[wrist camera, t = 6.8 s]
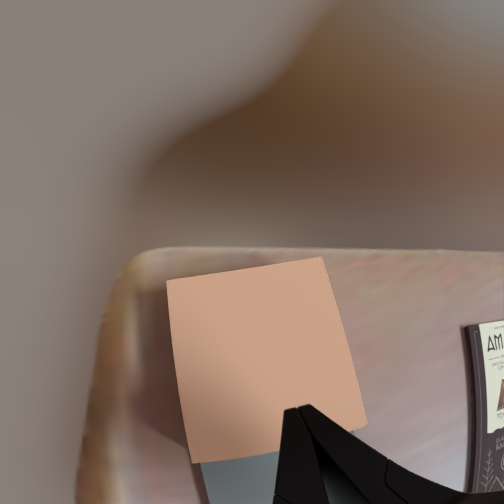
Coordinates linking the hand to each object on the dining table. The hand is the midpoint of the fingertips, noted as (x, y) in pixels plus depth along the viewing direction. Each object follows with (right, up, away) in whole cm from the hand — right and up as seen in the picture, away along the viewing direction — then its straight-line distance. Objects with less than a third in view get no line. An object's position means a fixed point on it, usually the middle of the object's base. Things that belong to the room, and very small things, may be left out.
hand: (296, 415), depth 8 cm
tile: (0, -5, +5) cm, 7 cm away
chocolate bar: (+19, -9, +6) cm, 22 cm away
